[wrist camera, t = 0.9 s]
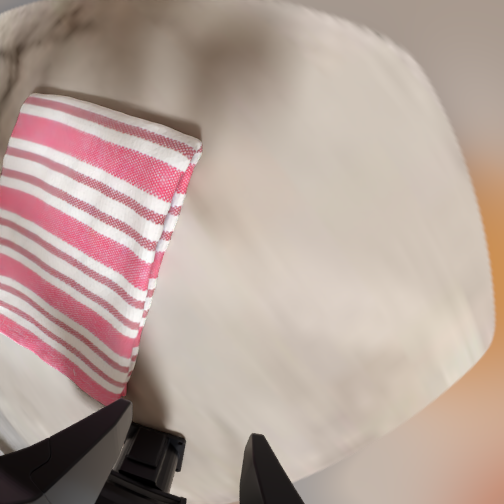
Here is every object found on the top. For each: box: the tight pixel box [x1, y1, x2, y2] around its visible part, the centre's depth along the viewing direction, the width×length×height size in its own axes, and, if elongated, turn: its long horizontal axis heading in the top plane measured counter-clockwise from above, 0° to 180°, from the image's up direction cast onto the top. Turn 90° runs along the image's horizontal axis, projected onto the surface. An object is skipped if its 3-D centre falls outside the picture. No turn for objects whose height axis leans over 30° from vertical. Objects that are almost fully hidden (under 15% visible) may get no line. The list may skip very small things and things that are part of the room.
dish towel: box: [0, 93, 202, 406], centre depth 18 cm, size 17×23×4 cm
